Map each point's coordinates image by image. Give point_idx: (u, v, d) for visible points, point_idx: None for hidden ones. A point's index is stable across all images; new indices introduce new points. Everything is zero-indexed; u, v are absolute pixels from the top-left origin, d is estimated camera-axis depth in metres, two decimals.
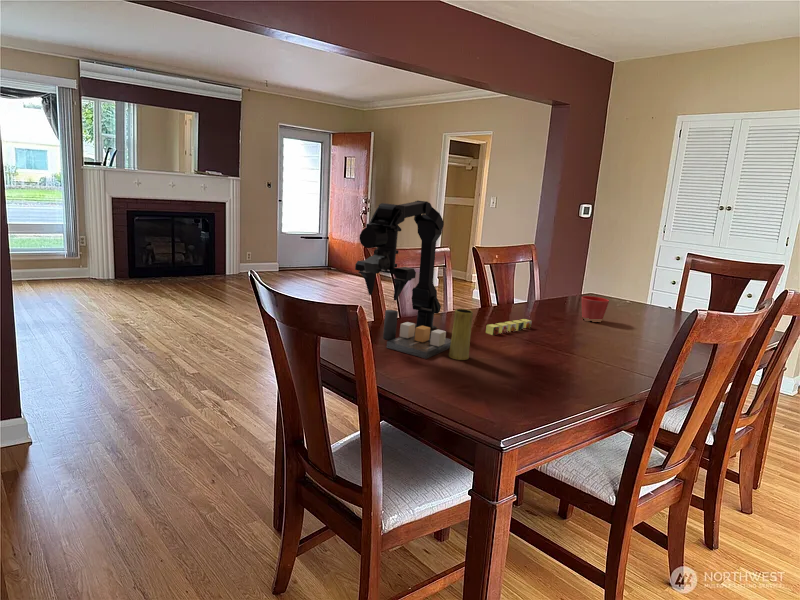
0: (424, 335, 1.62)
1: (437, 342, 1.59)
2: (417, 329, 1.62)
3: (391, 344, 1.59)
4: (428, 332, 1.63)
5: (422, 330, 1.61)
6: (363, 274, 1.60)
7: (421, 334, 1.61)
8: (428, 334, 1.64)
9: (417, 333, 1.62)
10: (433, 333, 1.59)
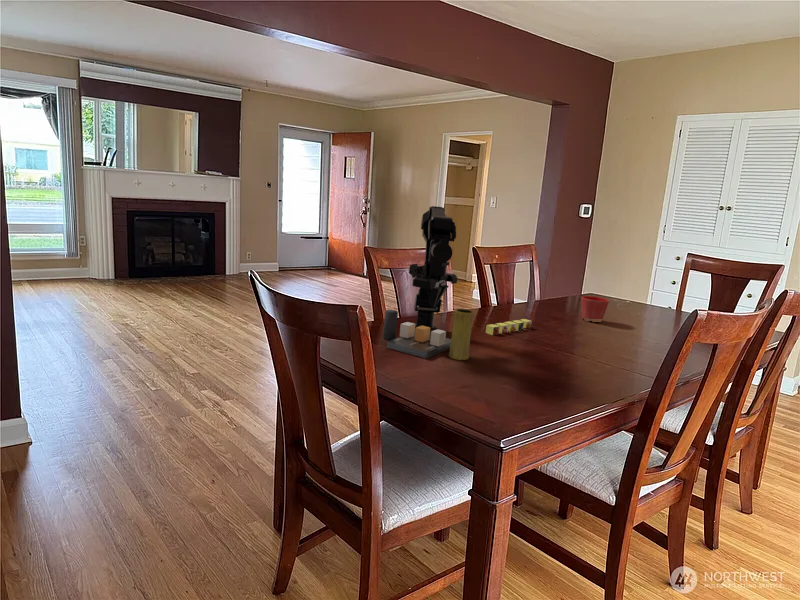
0: (424, 335, 1.62)
1: (437, 342, 1.59)
2: (417, 329, 1.62)
3: (391, 344, 1.59)
4: (428, 332, 1.63)
5: (422, 330, 1.61)
6: None
7: (421, 334, 1.61)
8: (428, 334, 1.64)
9: (417, 333, 1.62)
10: (433, 333, 1.59)
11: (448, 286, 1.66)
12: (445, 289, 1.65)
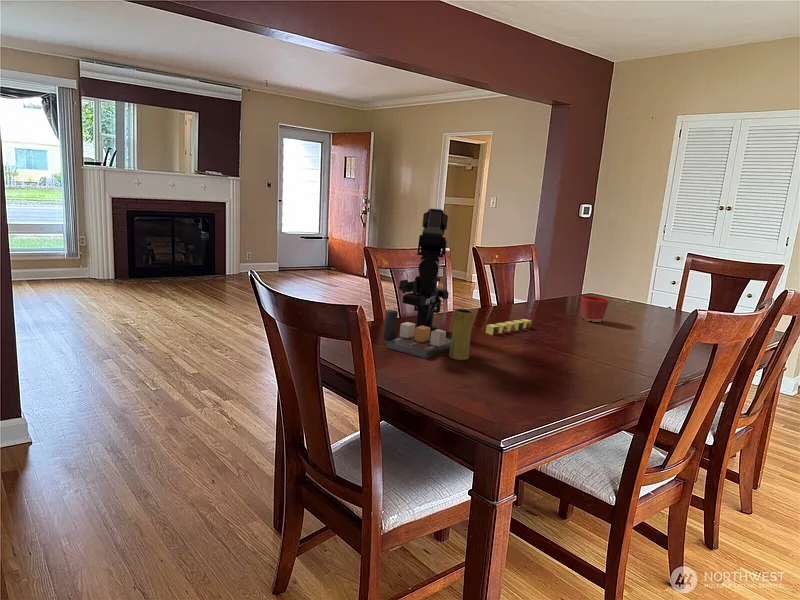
0: (424, 335, 1.62)
1: (437, 342, 1.59)
2: (417, 329, 1.62)
3: (391, 344, 1.59)
4: (428, 332, 1.63)
5: (422, 330, 1.61)
6: None
7: (421, 334, 1.61)
8: (428, 334, 1.64)
9: (417, 333, 1.62)
10: (433, 333, 1.59)
11: (439, 302, 1.62)
12: (436, 305, 1.62)
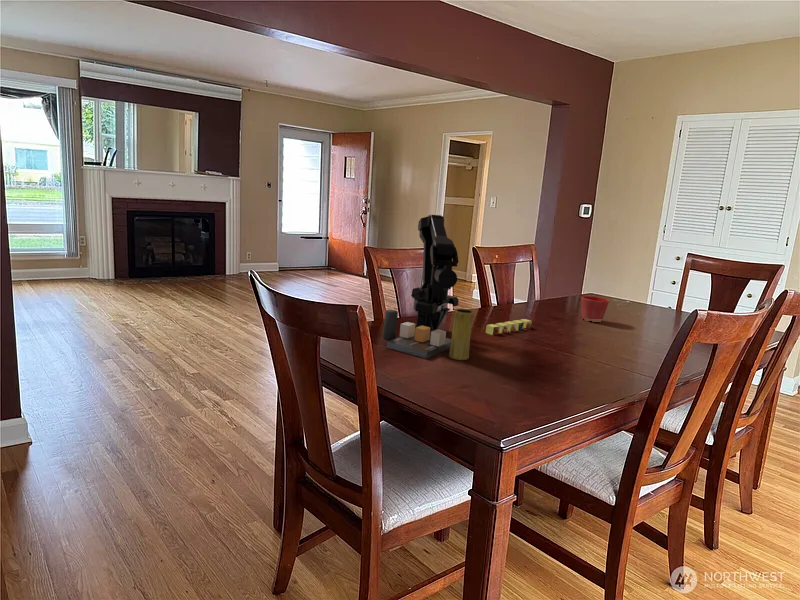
0: (424, 335, 1.62)
1: (437, 342, 1.59)
2: (417, 329, 1.62)
3: (391, 344, 1.59)
4: (428, 332, 1.63)
5: (422, 330, 1.61)
6: None
7: (421, 334, 1.61)
8: (428, 334, 1.64)
9: (417, 333, 1.62)
10: (433, 333, 1.59)
11: (449, 309, 1.70)
12: (446, 312, 1.69)
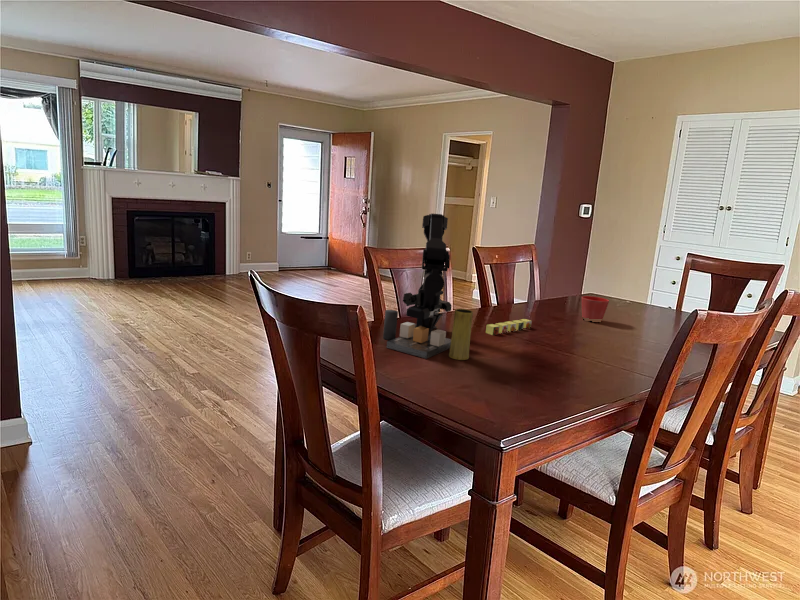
0: (422, 336, 1.61)
1: (437, 342, 1.59)
2: (415, 330, 1.61)
3: (391, 344, 1.59)
4: (426, 333, 1.63)
5: (420, 331, 1.60)
6: None
7: (419, 335, 1.61)
8: (426, 335, 1.63)
9: (415, 334, 1.61)
10: (433, 333, 1.59)
11: None
12: (439, 318, 1.65)
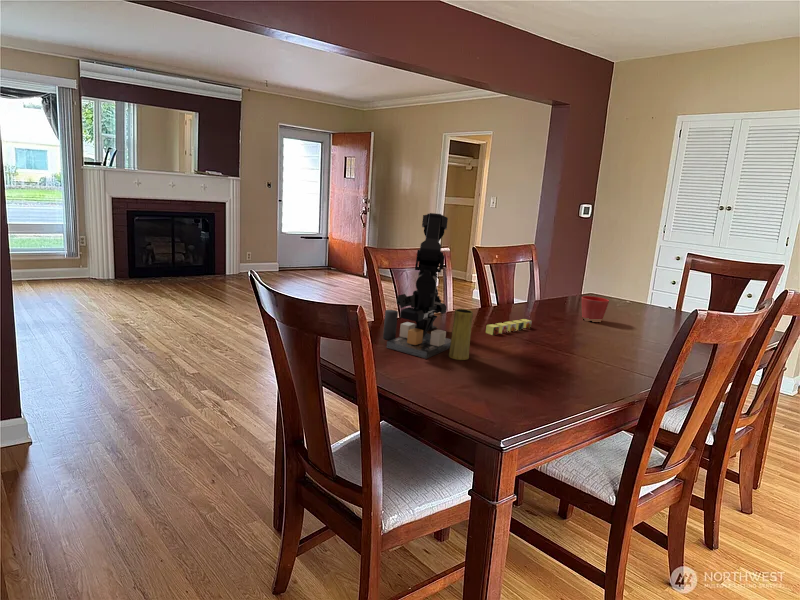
0: (417, 338, 1.58)
1: (437, 342, 1.59)
2: (410, 332, 1.58)
3: (391, 344, 1.59)
4: (421, 335, 1.60)
5: (415, 333, 1.57)
6: None
7: (414, 337, 1.58)
8: (421, 337, 1.60)
9: (410, 336, 1.58)
10: (433, 333, 1.59)
11: None
12: (433, 320, 1.62)
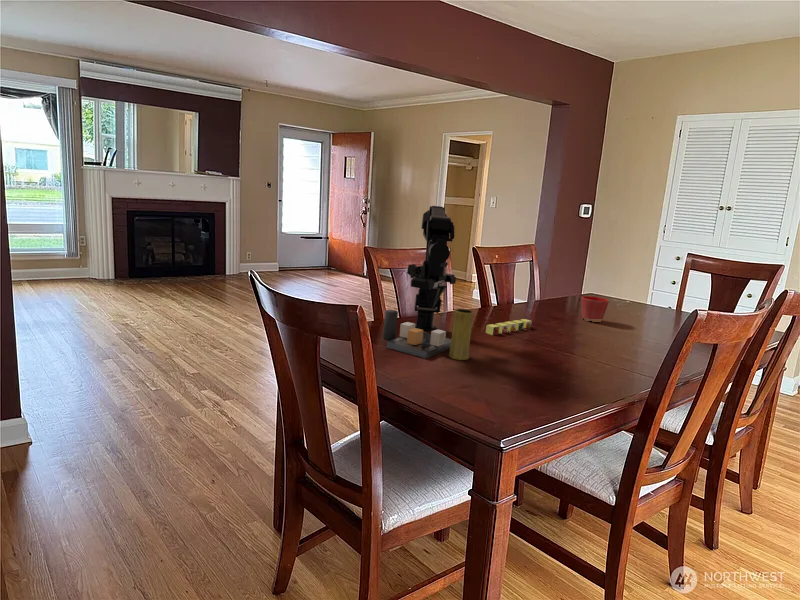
0: (417, 338, 1.58)
1: (437, 342, 1.59)
2: (409, 332, 1.58)
3: (391, 344, 1.59)
4: (421, 335, 1.60)
5: (415, 333, 1.57)
6: None
7: (414, 337, 1.58)
8: (421, 337, 1.60)
9: (410, 336, 1.58)
10: (433, 333, 1.59)
11: (446, 287, 1.65)
12: (443, 290, 1.64)
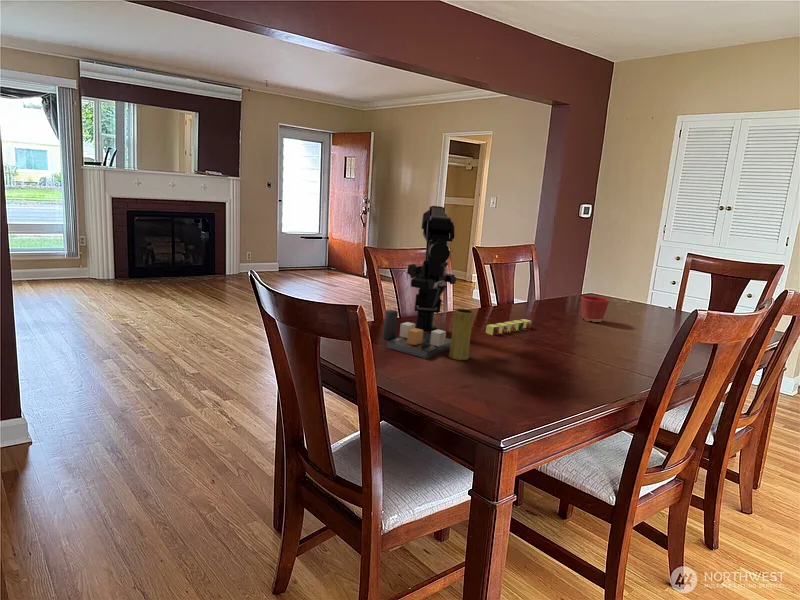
0: (417, 338, 1.58)
1: (437, 342, 1.59)
2: (409, 332, 1.58)
3: (391, 344, 1.59)
4: (421, 335, 1.60)
5: (415, 333, 1.57)
6: None
7: (414, 337, 1.58)
8: (421, 337, 1.60)
9: (410, 336, 1.58)
10: (433, 333, 1.59)
11: (446, 286, 1.65)
12: (443, 290, 1.64)
